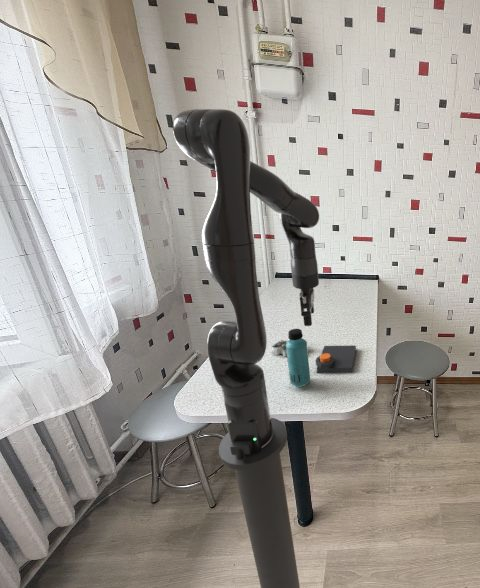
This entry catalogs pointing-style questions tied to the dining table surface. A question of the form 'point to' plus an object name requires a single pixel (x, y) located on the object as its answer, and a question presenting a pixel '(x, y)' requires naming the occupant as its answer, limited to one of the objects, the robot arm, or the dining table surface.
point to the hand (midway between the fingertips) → (309, 319)
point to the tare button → (325, 358)
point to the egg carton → (280, 348)
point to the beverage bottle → (297, 358)
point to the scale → (337, 359)
